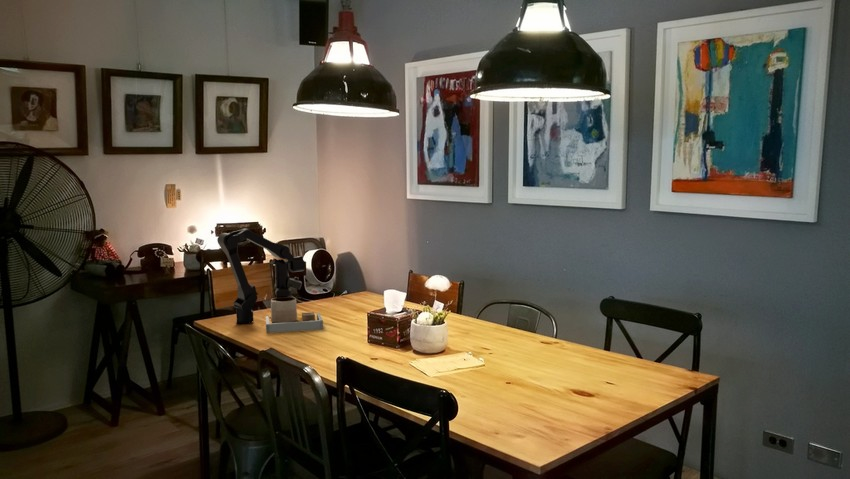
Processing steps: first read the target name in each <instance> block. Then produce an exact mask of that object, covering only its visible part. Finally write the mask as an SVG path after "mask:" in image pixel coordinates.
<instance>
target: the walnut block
mask: <svg viewBox="0 0 850 479" xmlns="http://www.w3.org/2000/svg"><path fill="white" fill-rule="evenodd" d="M301 321H316V314H315V312H314V311H312V312H301Z"/></svg>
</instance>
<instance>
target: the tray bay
mask: <svg viewBox="0 0 850 479" xmlns="http://www.w3.org/2000/svg"><path fill="white" fill-rule="evenodd" d="M321 315H322V314H320V312H318V313H316V319H315V321H302V320H301V321H294V322H286V323H274V322H272V323H270V318H269V317H270V316H265V328H266V329H265V331H266V334H271V333H272V334H273V333H287V332H301V331H303V332H304V331H316V330H324V320H323V317H322V316H321Z"/></svg>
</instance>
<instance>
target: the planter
mask: <svg viewBox="0 0 850 479" xmlns="http://www.w3.org/2000/svg"><path fill="white" fill-rule="evenodd" d="M297 310H298V309H297V297H294V296H287V297H277V296H275V297H274V298H270V317H271V318H270V320H271V322H272V323H286V322H297V319H298V311H297Z"/></svg>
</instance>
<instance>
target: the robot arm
mask: <svg viewBox="0 0 850 479" xmlns="http://www.w3.org/2000/svg"><path fill="white" fill-rule="evenodd" d="M216 240H217V244H218V245H219V247H220V249H221V250H222V251H223V253H224V254H225V255H226V258H227V260H228V263H229V266H230V268H231V271H232V274H233V276H234V279H235V282H236V285H237V296H238V297H237V298H236V299H235V300H234V302H232V304H233V305H234V308H236V309H235V311H236V312H235V313H236V315H235V316H236V323H235V324H236V325H245V324H253V322H254V307H255V304H256V303H257V301H258V295H259V293H258V292H257V289H256V288H257V287H256V286H255V285H252V284H250V283H249V281H248V280H249V279H248V278H247V275H246V272H245V269H244V266H243V264H242V262H241V259H240V256H239V253H238V251H239V250H238V248H239V244H240V243H241V242H244V241H246V240H247V241H249V242H251V243H253V244H255V245H257V246H259V247H261V248H264V249H265V250H267V251H268V252H269V254H270V255H271V256H273V257H274V258H273V259H272V260H271V261H270V263H269V264H271V265H274V272H275V273H274V278H275V281H274V282H275V283H274V290H275V297H292V296H291V293H292V292H291V291H292V290H291V288H294V289H296V290H299V291H300V290H301V288H302V286H303V285H302V284H303V282H302V281H301V280H300V279H299V277H297V276H294V278H290V275H289V272H290V273H297V272H304V271H305V269H306V263H305V260H304V257H303V256H302V255H297V256H294V255H293V254H292V253H291V251H290V248H289V247H288V246H286V245H283V244H279V243H277V242H273V241H271V240H269V239H267V238H265V237H263V236H261V235H259V234H258V233H255V232H254V231H251V230H250V229H249V228H241V229H239V230H235V231H231V232H228V233H227V232H222V233H220V234H219V235H218V237H217V239H216ZM277 258H279V259H277Z"/></svg>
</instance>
